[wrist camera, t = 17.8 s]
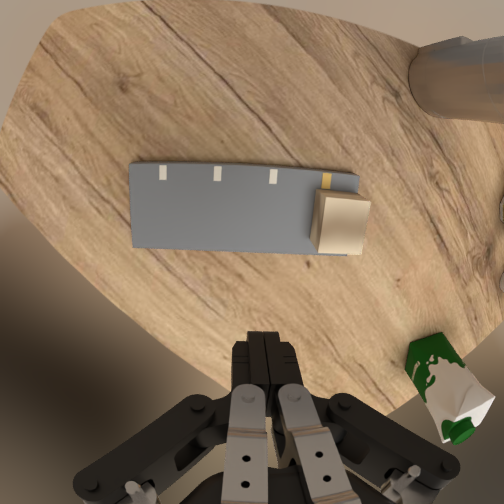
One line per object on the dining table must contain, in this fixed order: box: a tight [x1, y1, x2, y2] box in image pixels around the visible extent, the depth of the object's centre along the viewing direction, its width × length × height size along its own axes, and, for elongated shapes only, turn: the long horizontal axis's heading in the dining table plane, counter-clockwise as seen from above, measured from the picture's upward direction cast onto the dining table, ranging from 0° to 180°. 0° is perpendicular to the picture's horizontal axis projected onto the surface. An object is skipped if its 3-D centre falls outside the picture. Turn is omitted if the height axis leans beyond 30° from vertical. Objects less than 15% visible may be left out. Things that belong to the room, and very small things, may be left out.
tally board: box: [129, 161, 360, 256], centre depth 35 cm, size 10×26×2 cm, turn 86°
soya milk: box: [405, 332, 495, 445], centre depth 39 cm, size 9×9×20 cm
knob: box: [310, 189, 371, 255], centre depth 33 cm, size 6×5×4 cm
